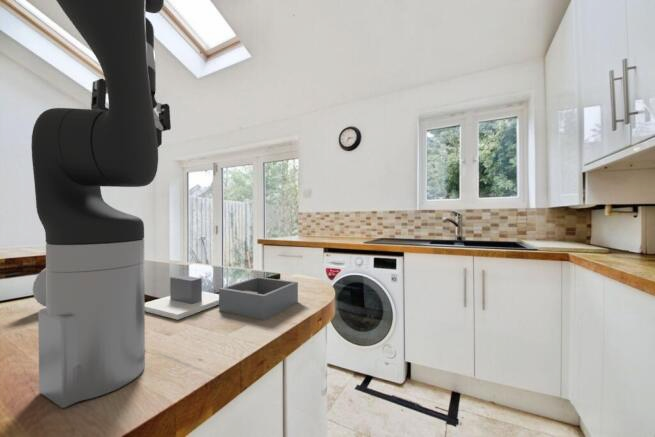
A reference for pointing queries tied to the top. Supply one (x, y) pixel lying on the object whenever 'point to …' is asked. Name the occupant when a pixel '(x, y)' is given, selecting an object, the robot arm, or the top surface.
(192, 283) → the lid
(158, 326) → the top surface
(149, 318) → the top surface
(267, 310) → the box
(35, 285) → the donut
